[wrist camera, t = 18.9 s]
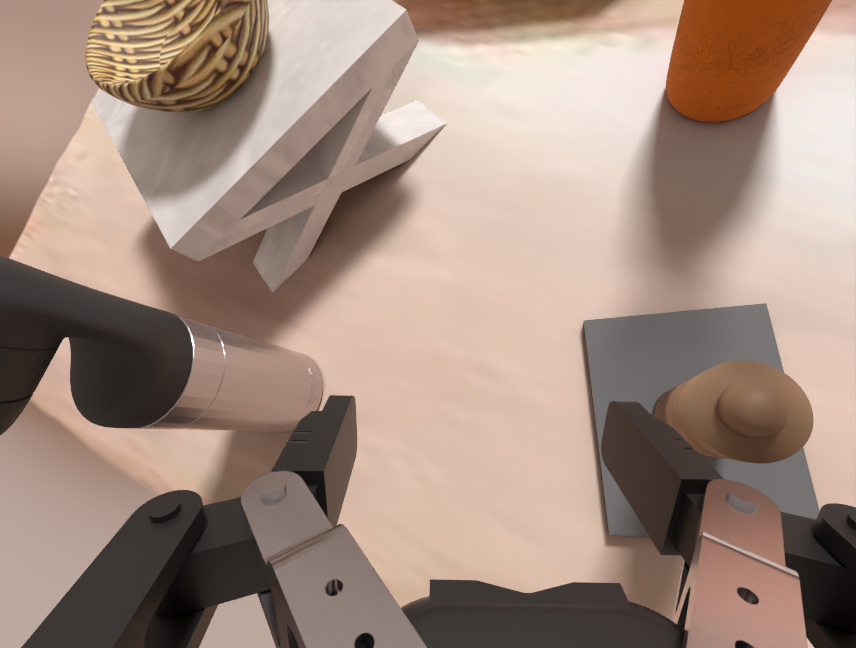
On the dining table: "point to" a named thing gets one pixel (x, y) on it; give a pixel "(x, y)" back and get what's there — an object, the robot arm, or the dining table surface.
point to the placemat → (675, 364)
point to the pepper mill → (739, 412)
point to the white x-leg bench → (253, 114)
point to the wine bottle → (736, 53)
